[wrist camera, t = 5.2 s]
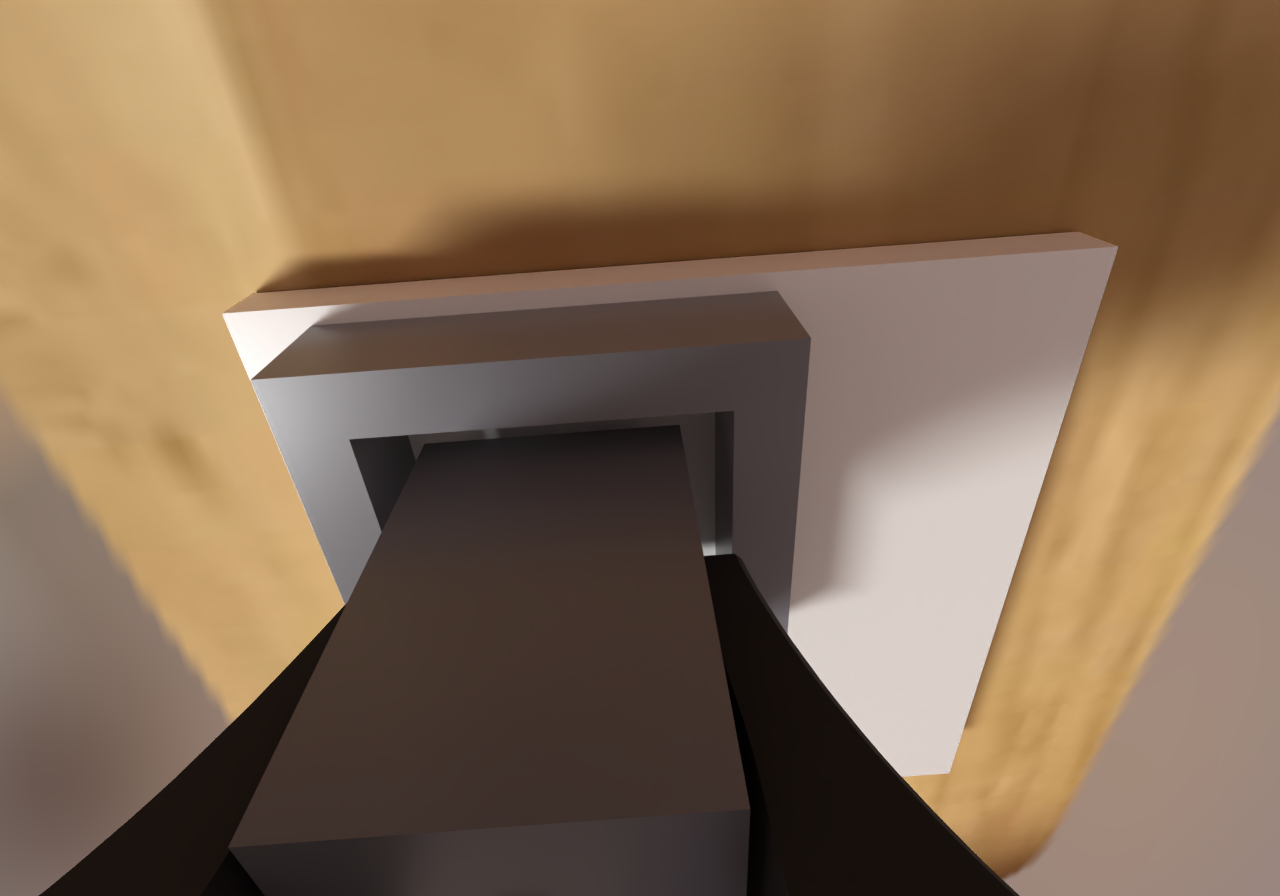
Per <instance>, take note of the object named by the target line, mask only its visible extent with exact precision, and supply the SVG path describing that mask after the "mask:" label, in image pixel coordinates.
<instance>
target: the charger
mask: <svg viewBox="0 0 1280 896" xmlns="http://www.w3.org/2000/svg"><path fill="white" fill-rule="evenodd" d="M749 828H750V805H749V799H748V794H747V788H746V783H745V777H744V772H743V767H742V761H741V756H740V750H739V745H738V739H737V734H736V729H735V723H734V718H733V712H732V707H731V701H730V696H729V690H728V685H727V680H726V674H725V669H724V663H723V658H722V652H721V647H720V642H719V636H718V631H717V625H716V620H715V614H714V609H713V604H712V598H711V593H710V587H709V582H708V576H707V571H706V566H705V560H704V555H703V549H702V544H701V538H700V533H699V527H698V522H697V517H696V511H695V506H694V500H693V495H692V489H691V484H690V479H689V473H688V468H687V462H686V457H685V451H684V446H683V441H682V435H681V430H680V425H669V426H655V427H642V428H629V429H615V430H602V431H588V432H575V433H561V434H548V435H535V436H521V437H508V438H494V439H481V440H468V441H454V442H441V443H427V444H424V446H423V448H422V450H421V452H420V454H419V456H418V458H417V460H416V463H415V465H414V467H413V469H412V471H411V473H410V475H409V477H408V479H407V481H406V483H405V485H404V487H403V489H402V491H401V493H400V495H399V497H398V499H397V502H396V504H395V506H394V508H393V510H392V512H391V514H390V516H389V518H388V520H387V522H386V524H385V526H384V528H383V530H382V532H381V534H380V536H379V538H378V541H377V543H376V545H375V547H374V549H373V551H372V553H371V555H370V557H369V559H368V561H367V563H366V565H365V567H364V569H363V571H362V573H361V575H360V578H359V580H358V582H357V584H356V586H355V588H354V590H353V592H352V594H351V596H350V598H349V600H348V602H347V604H346V606H345V608H344V610H343V612H342V614H341V617H340V619H339V621H338V623H337V625H336V627H335V629H334V631H333V633H332V635H331V637H330V639H329V641H328V643H327V645H326V647H325V649H324V651H323V653H322V656H321V658H320V660H319V662H318V664H317V666H316V668H315V670H314V672H313V674H312V676H311V678H310V680H309V682H308V684H307V686H306V688H305V690H304V693H303V695H302V697H301V699H300V701H299V703H298V705H297V707H296V709H295V711H294V713H293V715H292V717H291V719H290V721H289V723H288V725H287V727H286V729H285V732H284V734H283V736H282V738H281V740H280V742H279V744H278V746H277V748H276V750H275V752H274V754H273V756H272V758H271V760H270V762H269V764H268V766H267V768H266V771H265V773H264V775H263V777H262V779H261V781H260V783H259V785H258V787H257V789H256V791H255V793H254V795H253V797H252V799H251V801H250V803H249V805H248V807H247V810H246V812H245V814H244V816H243V818H242V820H241V822H240V824H239V826H238V828H237V830H236V832H235V834H234V836H233V838H232V840H231V842H230V844H229V847H228V848H229V849H230V851H231V852H232V853H233V855H234V856H235V857H236V859H237V860H238V861H239V863H240V864H241V865H242V867H243V868H244V869H245V870H246V872H247V873H248V874H249V876H250V877H251V878H252V880H253V881H254V882H255V884H256V885H257V886H258V888H259V889H260V890H261V891H262V893H263V894H264V895H265V896H746V893H747V871H748V849H749Z"/></svg>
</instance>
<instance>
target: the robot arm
mask: <svg viewBox="0 0 1280 896" xmlns="http://www.w3.org/2000/svg"><path fill="white" fill-rule="evenodd" d="M704 560H705V566H706V571H707V576H708V582H709V587H710V593H711V598H712V604H713V609H714V614H715V620H716V625H717V631H718V636H719V642H720V647H721V652H722V658H723V663H724V669H725V674H726V680H727V685H728V690H729V696H730V701H731V707H732V712H733V718H734V723H735V729H736V734H737V739H738V745H739V750H740V756H741V761H742V767H743V772H744V777H745V783H746V788H747V794H748V799H749V805H750V828H749V849H748V871H747V893H746V896H1019V895H1018V894H1017V893H1016V892H1015V891H1014V890H1013V889H1012V888H1011V887H1009V885H1007V884H1006V883H1005V882H1004V881H1003V880H1002V879H1001V878H1000V877H999V876H998V875H997V874H996V873H995V872H994V871H993V870H991V869H990V868H989V867H988V866H987V865H986V864H985V863H984V862H983V861H982V860H981V859H980V858H979V857H978V856H977V855H976V854H975V853H974V852H973V851H972V850H971V849H970V848H969V847H968V846H967V845H966V844H965V843H964V842H963V841H962V840H961V839H960V838H959V837H958V836H957V835H956V834H955V833H954V832H953V831H952V830H951V829H950V828H949V827H948V826H947V824H946V823H945V822H944V821H943V820H942V819H941V818H940V817H939V816H938V815H937V814H936V813H935V812H934V811H933V810H932V809H931V808H930V807H929V806H928V805H927V804H926V803H925V802H924V800H923V799H922V798H921V797H920V796H919V795H918V794H917V793H916V792H915V791H914V790H913V789H912V788H911V786H910V785H909V784H908V783H907V782H906V781H905V780H904V779H903V778H902V777H901V776H900V775H899V773H898V772H897V771H896V770H895V769H894V768H893V767H892V766H891V764H890V763H889V762H888V761H887V760H886V759H885V758H884V757H883V755H882V754H881V753H880V752H879V751H878V750H877V748H876V747H875V746H874V745H873V744H872V743H871V741H870V740H869V739H868V738H867V737H866V736H865V734H864V733H863V732H862V731H861V730H860V728H859V727H858V726H857V725H856V723H855V722H854V721H853V720H852V719H851V717H850V716H849V715H848V714H847V713H846V711H845V710H844V709H843V708H842V706H841V705H840V704H839V703H838V701H837V700H836V699H835V698H834V696H833V695H832V694H831V692H830V691H829V690H828V689H827V687H826V686H825V685H824V683H823V682H822V681H821V680H820V678H819V677H818V675H817V674H816V673H815V671H814V670H813V669H812V667H811V666H810V665H809V663H808V662H807V660H806V659H805V658H804V656H803V655H802V654H801V652H800V651H799V650H798V648H797V647H796V645H795V644H794V643H793V641H792V640H791V638H790V637H789V635H788V634H787V633H786V631H785V630H784V628H783V627H782V625H781V624H780V622H779V621H778V619H777V618H776V616H775V615H774V613H773V612H772V610H771V608H770V607H769V605H768V604H767V602H766V601H765V599H764V597H763V596H762V594H761V592H760V591H759V589H758V587H757V586H756V584H755V582H754V581H753V579H752V577H751V575H750V573H749V572H748V570H747V568H746V566H745V564H744V562H743V560H742V559H741V558H740V557H739V556H737V555H736V554H722V555H709V556H704ZM345 606H346V605H345ZM345 606H344V607H343V608H342V609H341V610H340V611H339V612H338V613H337V614H336V615H335V616H334V617H333V619H332V620H331V621H330V622H329V623H328V624H327V625H326V626H325V627H324V628H323V629H322V630H321V631H320V633H319V634H318V635H317V636H316V637H315V638H314V639H313V640H312V641H311V642H310V643H309V644H308V645H307V646H306V648H305V649H304V650H303V651H302V652H301V653H300V654H299V655H298V656H297V657H296V658H295V659H294V660H293V661H292V662H291V663H290V664H289V665H288V666H287V667H286V669H285V670H284V671H283V672H282V673H281V674H280V675H279V676H278V677H277V678H276V679H275V680H274V681H273V682H272V683H271V684H270V685H269V686H268V687H267V688H266V689H265V690H264V691H263V693H262V694H261V695H260V696H259V697H258V698H257V699H256V700H255V701H254V702H253V703H252V704H251V705H250V706H249V707H248V708H247V709H246V710H245V711H244V712H243V713H242V714H241V715H240V716H239V717H238V718H237V719H236V720H235V721H234V722H233V723H231V724H230V725H229V726H228V727H227V728H226V729H225V730H224V731H223V732H222V733H221V734H220V735H219V736H218V737H217V738H216V739H215V740H214V741H213V742H212V743H211V744H210V745H209V746H208V747H207V748H206V749H205V750H204V751H203V752H202V753H201V754H199V756H197V758H195V759H194V760H193V761H192V762H191V763H190V764H189V765H188V766H187V767H186V768H185V769H184V770H183V771H182V772H181V773H180V774H179V775H178V776H177V777H176V778H175V779H174V780H173V781H172V782H171V783H169V784H168V785H167V786H166V787H165V788H164V789H163V790H162V791H161V792H160V793H158V794H157V795H156V796H155V797H154V798H153V799H152V800H151V801H150V802H148V803H147V804H146V805H145V806H144V807H143V808H142V809H141V810H140V811H138V812H137V813H136V814H135V815H134V816H133V817H132V818H131V819H129V820H128V821H127V822H126V823H125V824H124V825H123V826H121V827H120V828H119V829H118V830H117V831H116V832H114V833H113V834H112V835H111V836H110V837H109V838H107V839H106V840H105V841H104V842H103V843H102V844H100V845H99V846H98V847H97V848H96V849H94V850H93V851H92V852H91V853H90V854H89V855H88V856H86V857H85V858H84V859H83V860H82V861H81V862H79V863H78V864H77V865H76V866H75V867H74V868H72V869H71V870H70V871H69V872H67V873H66V874H65V875H64V876H63V877H61V878H60V879H59V880H58V881H57V882H56V883H54V884H53V885H52V886H51V887H50V888H48V889H47V890H46V891H44V892H43V893H42V894H40V895H39V896H265V895H264V894H263V893H262V891H261V890H260V889H259V888H258V886H257V885H256V884H255V882H254V881H253V880H252V878H251V877H250V876H249V874H248V873H247V872H246V870H245V869H244V868H243V867H242V865H241V864H240V863H239V861H238V860H237V859H236V857H235V856H234V855H233V853H232V852H231V851H230V849H229V848H228V847H229V844H230V842H231V840H232V838H233V836H234V834H235V832H236V830H237V828H238V826H239V824H240V822H241V820H242V818H243V816H244V814H245V812H246V810H247V807H248V805H249V803H250V801H251V799H252V797H253V795H254V793H255V791H256V789H257V787H258V785H259V783H260V781H261V779H262V777H263V775H264V773H265V771H266V768H267V766H268V764H269V762H270V760H271V758H272V756H273V754H274V752H275V750H276V748H277V746H278V744H279V742H280V740H281V738H282V736H283V734H284V732H285V729H286V727H287V725H288V723H289V721H290V719H291V717H292V715H293V713H294V711H295V709H296V707H297V705H298V703H299V701H300V699H301V697H302V695H303V693H304V690H305V688H306V686H307V684H308V682H309V680H310V678H311V676H312V674H313V672H314V670H315V668H316V666H317V664H318V662H319V660H320V658H321V656H322V653H323V651H324V649H325V647H326V645H327V643H328V641H329V639H330V637H331V635H332V633H333V631H334V629H335V627H336V625H337V623H338V621H339V619H340V617H341V614H342V612H343V610H344V608H345Z"/></svg>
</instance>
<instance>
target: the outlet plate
mask: <svg viewBox="0 0 1280 896" xmlns="http://www.w3.org/2000/svg"><path fill="white" fill-rule="evenodd" d="M1118 247H1119V246H1116V245H1114V244H1111V243H1108V242H1106V241H1103V240H1100V239H1097V238H1095V237H1092V236H1089V235H1087V234H1084V233H1081V232H1065V233H1052V234H1039V235H1025V236H1012V237H999V238H985V239H972V240H959V241H945V242H932V243H919V244H905V245H892V246H879V247H865V248H852V249H839V250H825V251H812V252H799V253H785V254H772V255H759V256H745V257H732V258H718V259H705V260H692V261H678V262H665V263H652V264H638V265H625V266H612V267H598V268H585V269H572V270H558V271H545V272H532V273H518V274H505V275H492V276H478V277H465V278H452V279H438V280H425V281H412V282H398V283H385V284H372V285H358V286H345V287H332V288H318V289H305V290H292V291H278V292H265V293H253V294H251V295H250V296H248V297H246V298H245V299H243V300H242V301H240V302H239V303H237V304H236V305H234V306H233V307H231V308H230V309H228V310H227V311H225V312H224V313H222V315H223V317H224V320H225V322H226V324H227V327H228V329H229V331H230V334H231V336H232V339H233V341H234V343H235V346H236V348H237V350H238V353H239V355H240V357H241V360H242V362H243V365H244V367H245V369H246V372H247V374H248V376H249V379H250V381H251V384H252V386H253V388H254V391H255V393H256V395H257V398H258V400H259V402H260V405H261V407H262V410H263V412H264V414H265V417H266V419H267V421H268V424H269V426H270V428H271V431H272V433H273V436H274V438H275V440H276V443H277V445H278V447H279V450H280V452H281V455H282V457H283V459H284V462H285V464H286V466H287V469H288V471H289V473H290V476H291V478H292V481H293V483H294V485H295V488H296V490H297V492H298V495H299V497H300V499H301V502H302V504H303V507H304V509H305V511H306V514H307V516H308V518H309V521H310V523H311V526H312V528H313V530H314V533H315V535H316V537H317V540H318V542H319V544H320V547H321V549H322V552H323V554H324V556H325V559H326V561H327V563H328V566H329V568H330V570H331V573H332V575H333V578H334V580H335V582H336V585H337V587H338V589H339V592H340V594H341V597H342V599H343V601H344V604H345V605H346V604H347V602H348V600H349V598H350V596H351V594H352V592H353V590H354V588H355V586H356V584H357V582H358V580H359V578H360V575H361V573H362V571H363V569H364V567H365V565H366V563H367V561H368V559H369V557H370V555H371V553H372V551H373V549H374V547H375V545H376V543H377V541H378V538H379V536H380V534H381V532H382V530H383V528H384V526H385V524H386V522H387V520H388V518H389V516H390V514H391V512H392V510H393V508H394V506H395V504H396V502H397V499H398V497H399V495H400V493H401V491H402V489H403V487H404V485H405V483H406V481H407V479H408V477H409V475H410V473H411V471H412V469H413V467H414V465H415V463H416V460H417V458H418V456H419V454H420V452H421V450H422V448H423V446H424V444H427V443H441V442H454V441H468V440H481V439H494V438H508V437H521V436H535V435H548V434H561V433H575V432H588V431H602V430H615V429H629V428H642V427H655V426H669V425H680V430H681V435H682V441H683V446H684V451H685V457H686V462H687V468H688V473H689V479H690V484H691V489H692V495H693V500H694V506H695V511H696V517H697V522H698V527H699V533H700V538H701V544H702V549H703V555H704V556H709V555H722V554H736V555H737V556H739V557H740V558H741V559H742V560H743V562H744V564H745V566H746V568H747V570H748V572H749V573H750V575H751V577H752V579H753V581H754V582H755V584H756V586H757V587H758V589H759V591H760V592H761V594H762V596H763V597H764V599H765V601H766V602H767V604H768V605H769V607H770V608H771V610H772V612H773V613H774V615H775V616H776V618H777V619H778V621H779V622H780V624H781V625H782V627H783V628H784V630H785V631H786V633H787V634H788V635H789V637H790V638H791V640H792V641H793V643H794V644H795V645H796V647H797V648H798V650H799V651H800V652H801V654H802V655H803V656H804V658H805V659H806V660H807V662H808V663H809V665H810V666H811V667H812V669H813V670H814V671H815V673H816V674H817V675H818V677H819V678H820V680H821V681H822V682H823V683H824V685H825V686H826V687H827V689H828V690H829V691H830V692H831V694H832V695H833V696H834V698H835V699H836V700H837V701H838V703H839V704H840V705H841V706H842V708H843V709H844V710H845V711H846V713H847V714H848V715H849V716H850V717H851V719H852V720H853V721H854V722H855V723H856V725H857V726H858V727H859V728H860V730H861V731H862V732H863V733H864V734H865V736H866V737H867V738H868V739H869V740H870V741H871V743H872V744H873V745H874V746H875V747H876V748H877V750H878V751H879V752H880V753H881V754H882V755H883V757H884V758H885V759H886V760H887V761H888V762H889V763H890V764H891V766H892V767H893V768H894V769H895V770H896V771H897V772H898V773H899V775H900V776H901V777H904V776H918V775H932V774H945V773H949V772H950V769H951V766H952V763H953V760H954V757H955V754H956V751H957V748H958V744H959V741H960V738H961V735H962V732H963V729H964V726H965V723H966V720H967V717H968V713H969V710H970V707H971V704H972V701H973V698H974V695H975V692H976V689H977V685H978V682H979V679H980V676H981V673H982V670H983V667H984V664H985V661H986V657H987V654H988V651H989V648H990V645H991V642H992V639H993V636H994V633H995V629H996V626H997V623H998V620H999V617H1000V614H1001V611H1002V608H1003V605H1004V601H1005V598H1006V595H1007V592H1008V589H1009V586H1010V583H1011V580H1012V577H1013V573H1014V570H1015V567H1016V564H1017V561H1018V558H1019V555H1020V552H1021V549H1022V546H1023V542H1024V539H1025V536H1026V533H1027V530H1028V527H1029V524H1030V521H1031V518H1032V514H1033V511H1034V508H1035V505H1036V502H1037V499H1038V496H1039V493H1040V490H1041V486H1042V483H1043V480H1044V477H1045V474H1046V471H1047V468H1048V465H1049V462H1050V458H1051V455H1052V452H1053V449H1054V446H1055V443H1056V440H1057V437H1058V434H1059V430H1060V427H1061V424H1062V421H1063V418H1064V415H1065V412H1066V409H1067V406H1068V402H1069V399H1070V396H1071V393H1072V390H1073V387H1074V384H1075V381H1076V378H1077V375H1078V371H1079V368H1080V365H1081V362H1082V359H1083V356H1084V353H1085V350H1086V347H1087V343H1088V340H1089V337H1090V334H1091V331H1092V328H1093V325H1094V322H1095V319H1096V315H1097V312H1098V309H1099V306H1100V303H1101V300H1102V297H1103V294H1104V291H1105V287H1106V284H1107V281H1108V278H1109V275H1110V272H1111V269H1112V266H1113V263H1114V259H1115V256H1116V253H1117V250H1118Z"/></svg>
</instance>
